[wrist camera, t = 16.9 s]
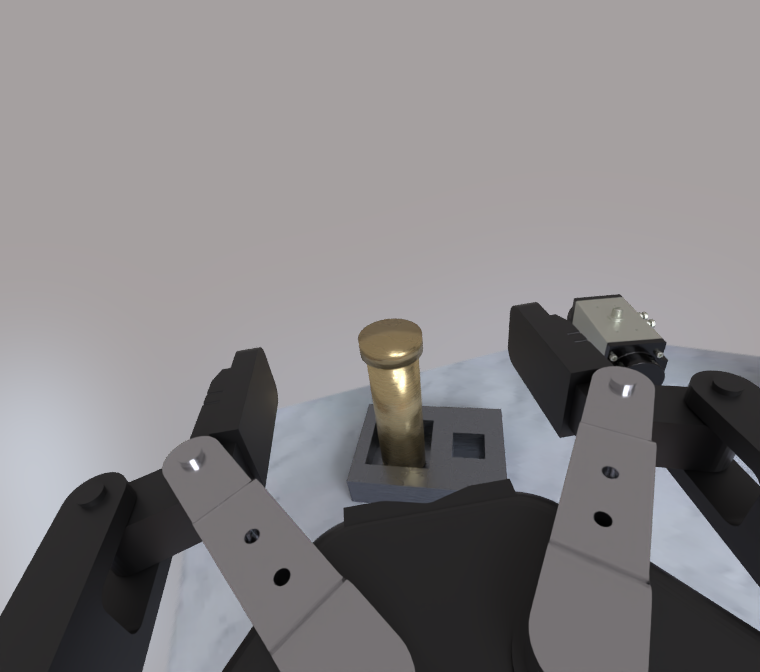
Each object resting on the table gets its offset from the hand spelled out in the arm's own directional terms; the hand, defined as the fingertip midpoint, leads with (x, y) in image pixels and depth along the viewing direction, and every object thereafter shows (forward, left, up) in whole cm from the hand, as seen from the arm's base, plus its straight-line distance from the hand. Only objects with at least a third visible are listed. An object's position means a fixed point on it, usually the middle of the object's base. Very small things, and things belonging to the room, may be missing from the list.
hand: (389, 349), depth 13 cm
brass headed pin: (+4, -16, -26) cm, 30 cm away
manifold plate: (+1, -16, -26) cm, 31 cm away
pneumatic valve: (-17, -26, -26) cm, 41 cm away
